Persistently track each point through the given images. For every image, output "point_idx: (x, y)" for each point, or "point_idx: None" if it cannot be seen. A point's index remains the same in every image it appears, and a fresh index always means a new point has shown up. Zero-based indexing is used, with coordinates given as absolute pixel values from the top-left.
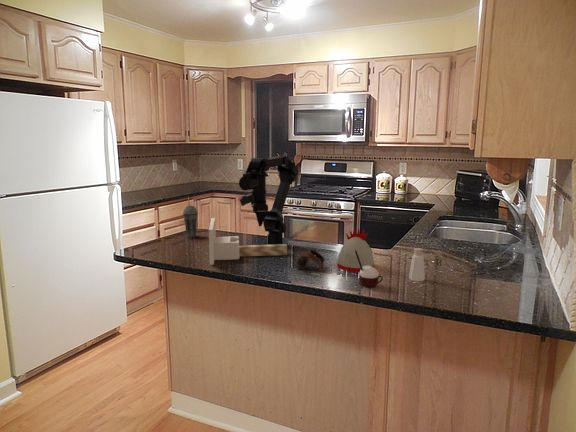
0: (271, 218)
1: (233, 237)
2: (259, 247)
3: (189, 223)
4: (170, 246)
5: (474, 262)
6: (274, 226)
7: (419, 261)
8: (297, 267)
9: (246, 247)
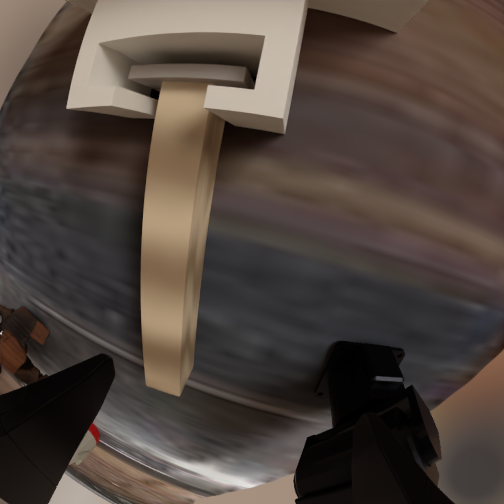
0: (342, 498)
1: (259, 65)
2: (143, 254)
3: None
4: None
5: (115, 494)
6: (308, 457)
7: None
8: (22, 309)
9: (149, 166)
